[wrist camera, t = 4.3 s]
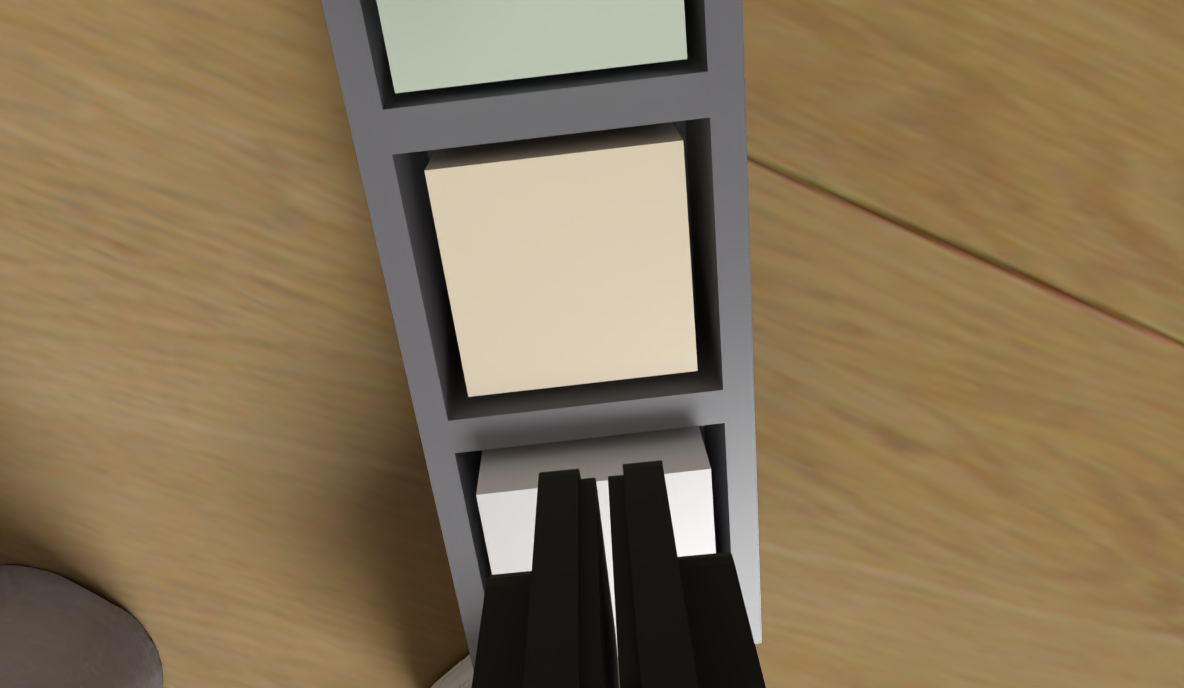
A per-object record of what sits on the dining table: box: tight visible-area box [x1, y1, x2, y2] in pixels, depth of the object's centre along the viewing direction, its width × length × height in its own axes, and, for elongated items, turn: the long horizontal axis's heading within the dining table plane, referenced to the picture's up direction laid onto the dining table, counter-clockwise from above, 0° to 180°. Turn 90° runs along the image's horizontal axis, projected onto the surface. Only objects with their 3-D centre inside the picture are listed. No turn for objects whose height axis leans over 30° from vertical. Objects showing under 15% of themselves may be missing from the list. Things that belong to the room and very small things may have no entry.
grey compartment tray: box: [321, 0, 762, 671], centre depth 23 cm, size 9×25×6 cm, turn 6°
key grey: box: [476, 426, 716, 657], centre depth 25 cm, size 6×6×4 cm
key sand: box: [424, 122, 698, 397], centre depth 23 cm, size 6×6×4 cm
